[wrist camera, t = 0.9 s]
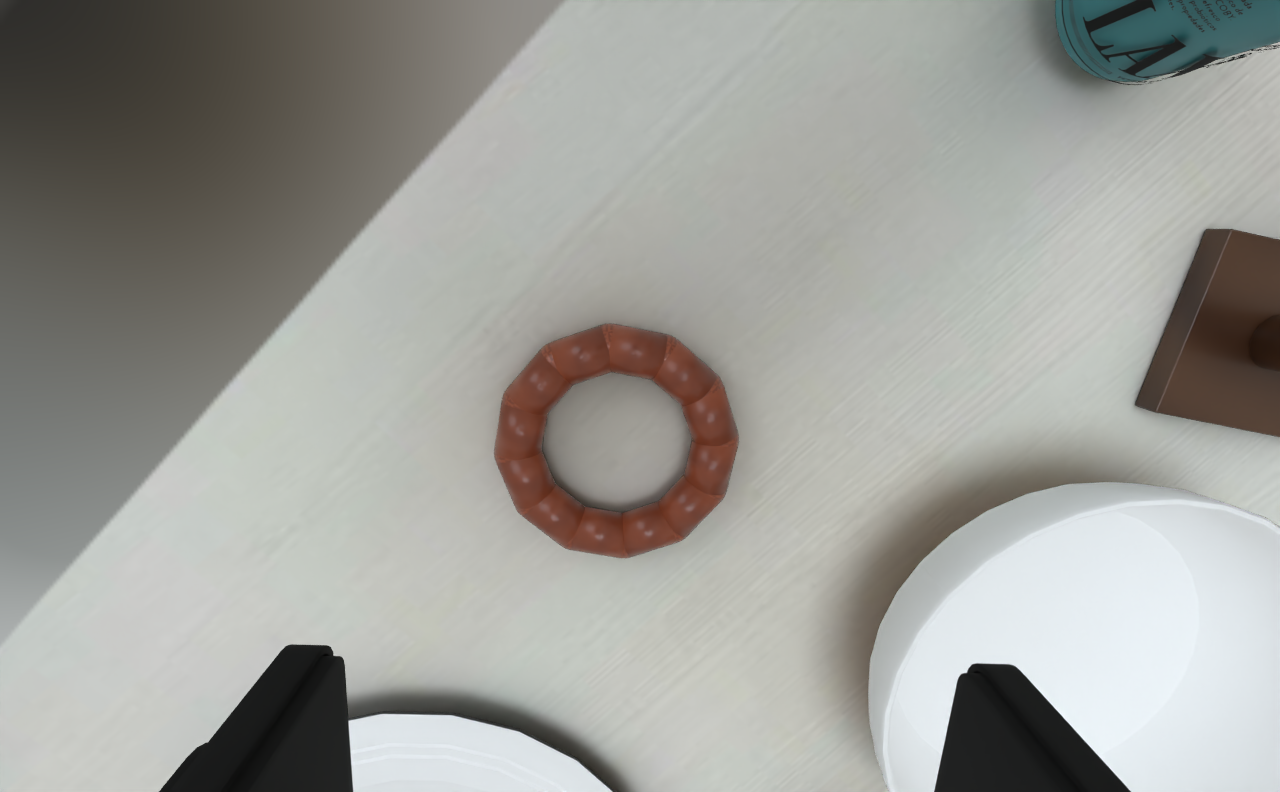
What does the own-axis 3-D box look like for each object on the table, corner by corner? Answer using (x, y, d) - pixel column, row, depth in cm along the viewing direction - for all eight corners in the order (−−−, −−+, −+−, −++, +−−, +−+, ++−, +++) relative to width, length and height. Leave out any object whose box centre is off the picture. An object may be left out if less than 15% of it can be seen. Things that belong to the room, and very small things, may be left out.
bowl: (1021, 841, 36) (1102, 963, 30) (752, 667, 32) (783, 766, 26) (1296, 587, 32) (1450, 669, 26) (1027, 361, 29) (1135, 396, 23)
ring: (520, 302, 27) (512, 308, 25) (755, 348, 28) (765, 357, 26) (486, 522, 30) (476, 543, 28) (703, 558, 31) (708, 581, 29)
